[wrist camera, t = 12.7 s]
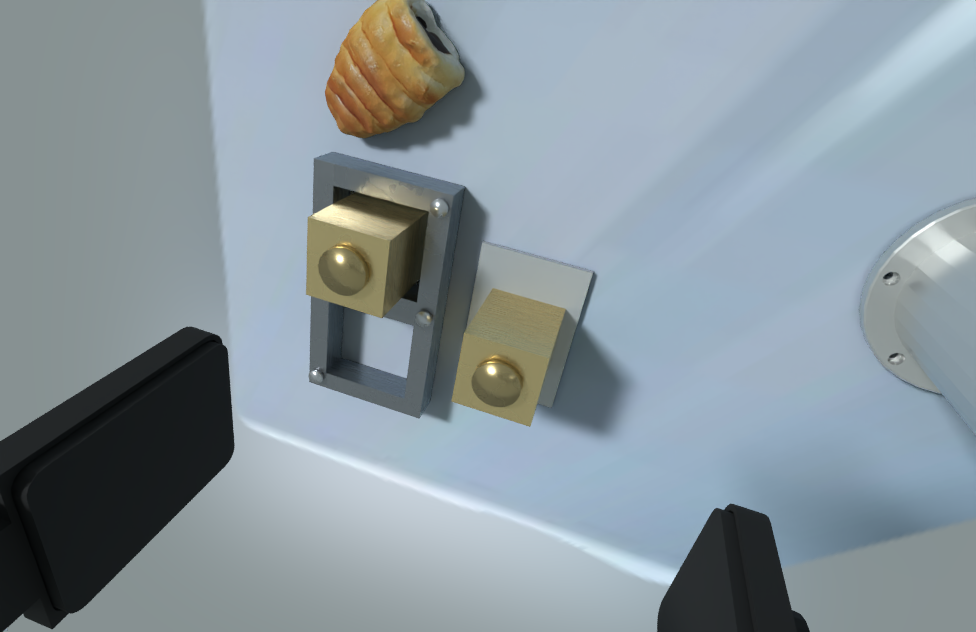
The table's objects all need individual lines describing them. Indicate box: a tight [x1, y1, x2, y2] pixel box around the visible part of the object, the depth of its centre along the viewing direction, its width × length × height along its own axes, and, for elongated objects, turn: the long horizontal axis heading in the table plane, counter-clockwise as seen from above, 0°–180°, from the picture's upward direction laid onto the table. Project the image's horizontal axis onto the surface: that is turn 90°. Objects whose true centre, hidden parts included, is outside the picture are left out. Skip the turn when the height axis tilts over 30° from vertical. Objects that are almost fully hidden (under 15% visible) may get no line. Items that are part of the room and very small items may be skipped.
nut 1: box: [306, 192, 429, 318], centre depth 37 cm, size 6×6×8 cm
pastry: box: [325, 0, 465, 138], centre depth 34 cm, size 9×7×4 cm
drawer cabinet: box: [309, 152, 465, 418], centre depth 41 cm, size 10×19×3 cm, turn 170°
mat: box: [466, 241, 593, 408], centre depth 41 cm, size 8×12×1 cm, turn 170°
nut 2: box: [452, 288, 566, 427], centre depth 37 cm, size 6×6×8 cm
